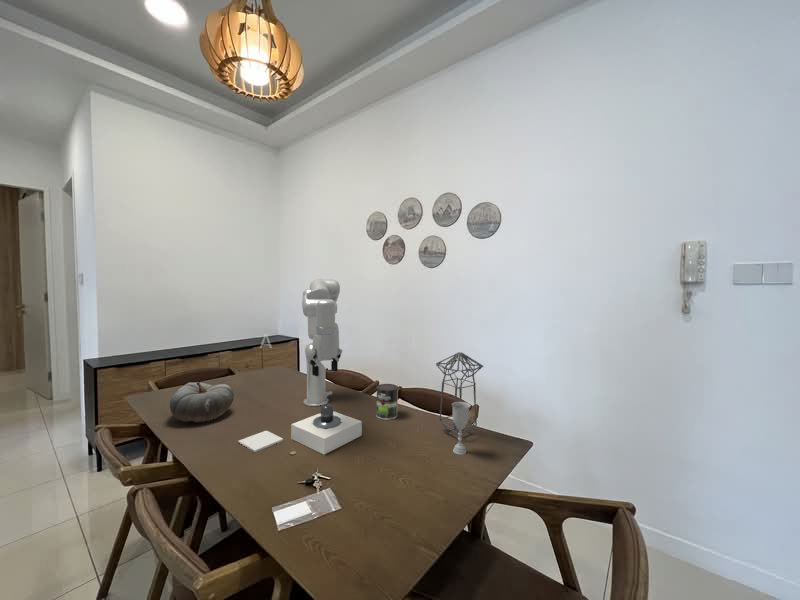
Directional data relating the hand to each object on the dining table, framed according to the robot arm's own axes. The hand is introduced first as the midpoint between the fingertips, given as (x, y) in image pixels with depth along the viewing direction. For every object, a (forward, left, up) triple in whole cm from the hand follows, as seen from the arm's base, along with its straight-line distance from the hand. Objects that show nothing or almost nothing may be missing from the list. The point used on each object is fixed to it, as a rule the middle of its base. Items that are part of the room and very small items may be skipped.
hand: (325, 373), depth 136 cm
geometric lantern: (-39, +41, -27) cm, 62 cm away
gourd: (+21, -59, -27) cm, 68 cm away
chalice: (-25, +49, -27) cm, 61 cm away
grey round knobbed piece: (-1, +1, -27) cm, 27 cm away
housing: (-1, +1, -27) cm, 27 cm away
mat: (+18, -16, -27) cm, 36 cm away
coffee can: (-34, +6, -27) cm, 43 cm away
